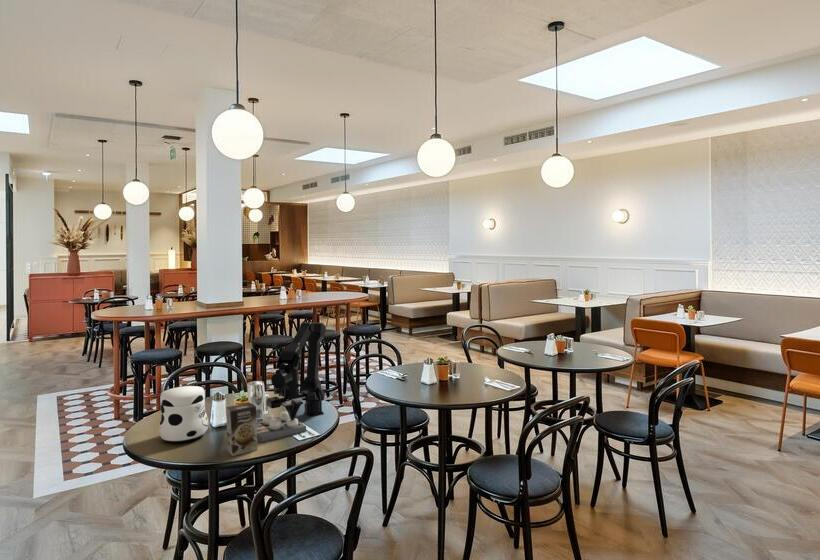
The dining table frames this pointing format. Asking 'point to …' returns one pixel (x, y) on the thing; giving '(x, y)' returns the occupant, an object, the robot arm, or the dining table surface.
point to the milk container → (183, 414)
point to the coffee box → (241, 429)
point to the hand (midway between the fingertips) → (292, 420)
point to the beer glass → (257, 397)
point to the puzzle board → (277, 431)
